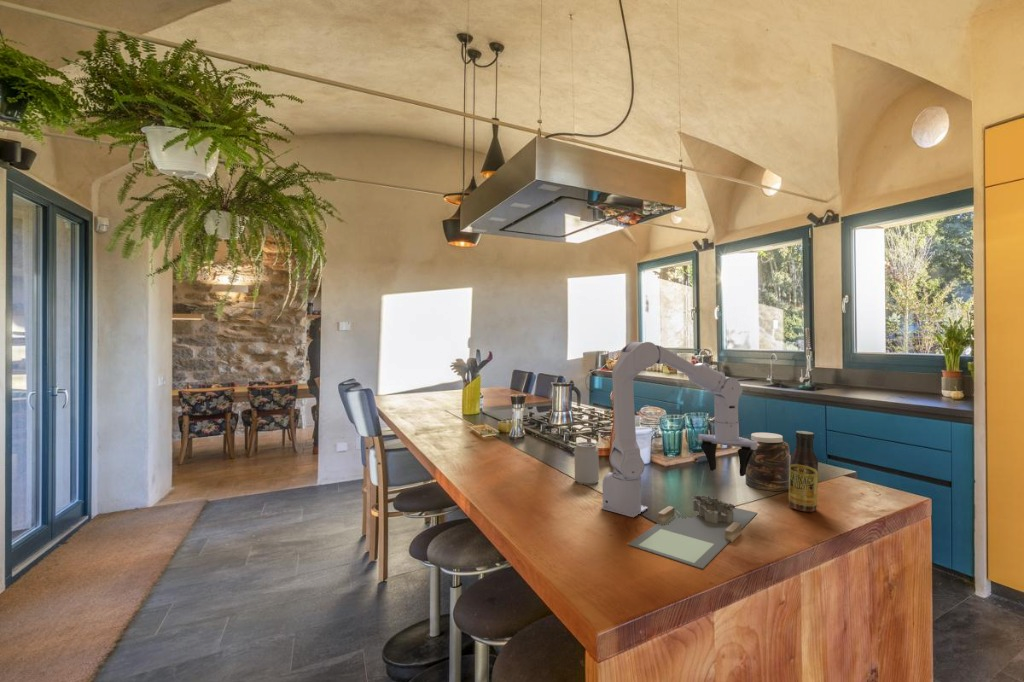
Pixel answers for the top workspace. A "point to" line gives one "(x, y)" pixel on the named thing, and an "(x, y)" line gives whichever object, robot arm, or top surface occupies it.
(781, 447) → the jar
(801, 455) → the sauce bottle
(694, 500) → the egg carton
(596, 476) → the can
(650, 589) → the top surface
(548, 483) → the top surface
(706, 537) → the lane mat
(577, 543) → the top surface
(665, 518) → the lane walls
